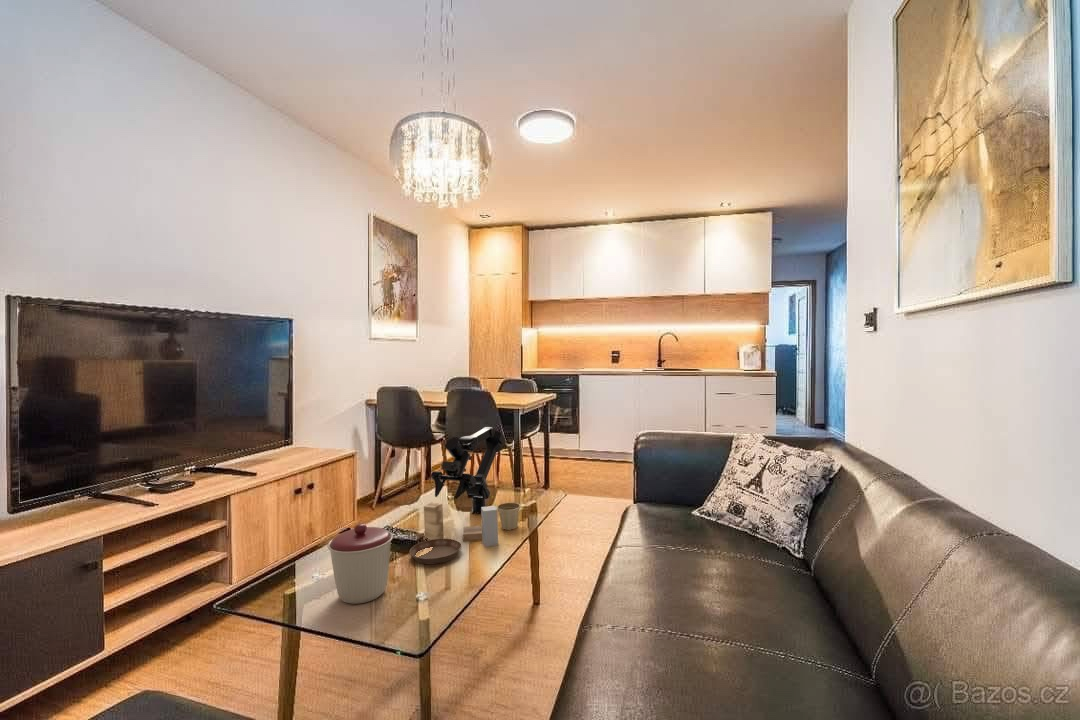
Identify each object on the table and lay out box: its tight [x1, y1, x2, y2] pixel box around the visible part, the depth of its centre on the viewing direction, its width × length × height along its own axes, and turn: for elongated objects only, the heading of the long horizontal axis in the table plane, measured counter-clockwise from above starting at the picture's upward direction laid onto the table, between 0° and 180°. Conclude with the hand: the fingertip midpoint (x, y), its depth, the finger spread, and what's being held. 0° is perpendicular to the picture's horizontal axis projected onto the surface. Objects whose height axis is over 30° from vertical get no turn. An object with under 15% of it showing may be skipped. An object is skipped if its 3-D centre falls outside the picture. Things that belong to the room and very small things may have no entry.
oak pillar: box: [423, 501, 445, 540], centre depth 187 cm, size 5×5×13 cm
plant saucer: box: [409, 538, 462, 565], centre depth 172 cm, size 18×18×3 cm
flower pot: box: [496, 502, 521, 531], centre depth 197 cm, size 9×9×9 cm
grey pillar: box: [480, 505, 499, 548], centre depth 181 cm, size 5×5×13 cm
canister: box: [327, 523, 394, 605], centre depth 144 cm, size 18×18×21 cm
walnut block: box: [462, 525, 482, 542], centre depth 188 cm, size 8×8×3 cm
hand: (445, 497), depth 195 cm, fingers open, 9 cm apart
